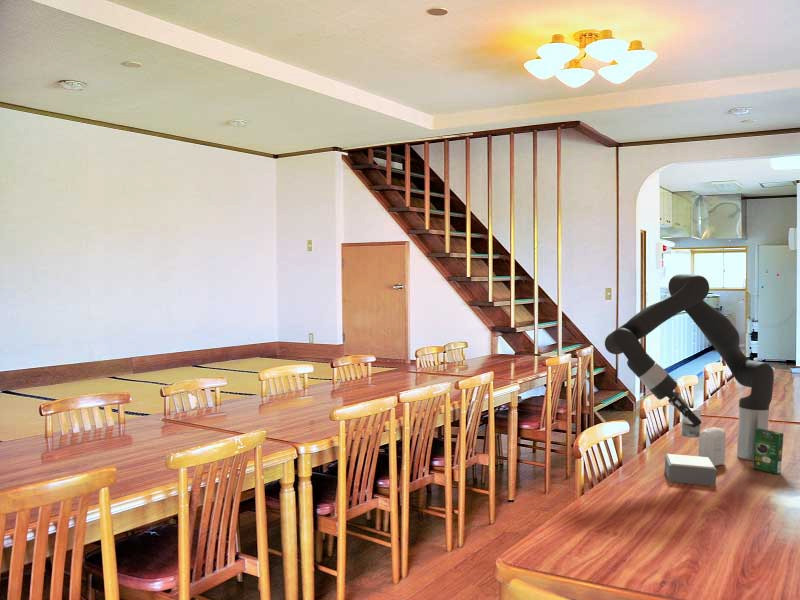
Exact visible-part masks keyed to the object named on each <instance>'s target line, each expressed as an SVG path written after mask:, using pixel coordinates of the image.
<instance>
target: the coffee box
mask: <svg viewBox="0 0 800 600" xmlns="http://www.w3.org/2000/svg"><path fill="white" fill-rule="evenodd" d="M783 445H784V433H783V432H779V431H777V432H776V431H773V430H769V429H768V430H765V429H761V428H758V429H756V432H755V447H754V460H753V466H752V468H753V469H755V470H758V471H763V472H766V473H769V474H773V473H774V475H780V474H781V473H782V458H783V447H784V446H783ZM779 473H780V474H779Z"/></svg>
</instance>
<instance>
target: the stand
mask: <svg viewBox="0 0 800 600" xmlns="http://www.w3.org/2000/svg"><path fill="white" fill-rule="evenodd" d="M664 456H665V457H664V472H666V473H665V475H667V476H666V479H667V480H668V483H675V482H676V483H675V484H685V483H687V485H696V484H697V486H706V485H711V486H710V487H717V486H716V485H717V468H716V466H714V465H713V463H712V462H711V460H710V459H709V458H708V457H699V455H698V456H697V455H688V454H687V455H685V454H674V453H666V454H665V455H664Z"/></svg>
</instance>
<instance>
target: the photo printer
mask: <svg viewBox="0 0 800 600" xmlns="http://www.w3.org/2000/svg"><path fill="white" fill-rule="evenodd" d="M698 438H699V439H698V440H699V441H698V456H699V457H708V458H709V459H710V460H711V462H712V463H713V465H714V466H715V467H716V466H717V467H718V466H720V465H724V464H725V462H726V460H725V459H726V458H725V457H726V456H725V455H726V438H727V437H726V432H725V431H724V429H723V428H720V427H716V426H712V427H707V428H706V429H703V430H702V431H700V436H699V437H698Z"/></svg>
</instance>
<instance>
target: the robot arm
mask: <svg viewBox="0 0 800 600" xmlns="http://www.w3.org/2000/svg"><path fill="white" fill-rule="evenodd" d="M709 283H710V282H709V281H708V279H706V277H704V276H702V275H699V274H688V273H681V274H679V273H678V274H675V275H673V276H672V277H671V278H670V280H669V282H668V285H667V286H668V293H669V294H670V296H669V297H666V298H665V299H663V300H660V301H658V302H655V303H653V304H650V305H649V306H647V307H645V308H643V309H642V310H640V311H638V312H637V313H636V314H635V315H634V316H632V317H631V318H630V319H629V320H628V321H626V323H624V324H622V325H621V326H619V327H618V328H617V329H615V330H613V331H612V332H611V333H609V334H608V335H607V336H606V337H605V340H604V347H605V350H606V351H608V353H609V354H612V355H620V354H623V355H625V357H626V359H627V362H626V364H627V366H628V368H629V369H630V370H631V372H632V373H634V375H635V376H636V377H637V378H638V379H639V380H640V381H641V383H642V384H643V385H644V386H645V387H646V388H647V390H649V392H650V393H652V394H653V396H654V397H655V398H656V399H657V400H660V401H661V400H663V399H665V398H668V399H667V402H668V403H669V404H670V405H671V406H672V407H674V408H675V409H676V410H677V411H678V413H681V414H682V416H683V415H684V416H685V417H687V418H688V419H689V420H690V421H691V422H692V423H693V424H694V425H695V426H698V425H700V426H701V424H702V421H701V418H700V419H699V418H698V417H697V416H696V415H695V414H694V413H693V411H692V410H690V409H689V408H691V407H690V406H689V404H688V403H687V401H686V400H685V399H684V398H683V396H682V394H680V393H679V392H675V391H674V390H676V388H677V387H678V383H677V381H676V380H675V379H674V378H673V377H672V376H671V375H670V374H669V373H668V372H667V371H666V370H665V369H664V368H663V367H662V366H661V365H660V364H658V363H657V362H656V360H654V359H653V358H652V357H651V355H649V354H648V353H647V352H646V350H645V348H644V346H643V345H642V343H641V342H640V339H642V338H645V337H646V336H648V335H649V334H650V333H651V332H653V331H654V330H655V329H657V328H658V327H660V325H662V324H663V323H665V322H667V321H668V320H669V319H671V318H673V317H675V316H676V315H678V314H680V313H681V312H683V311H684V312H685V313H686V314H687V315H688V316H689V317H690V318H691V319H692V321H693V322H694V323H695V325H696V326H697V327H698V329H699V330H700V331H701V332H702V334H703V335H704V337H705V338H706V339H707V341H708V342H709V343H710V344H711V346H712V347H713V348H714V349H715V351H716V352H717V353H718V354H719V356H720V357H721V359H722V360H723V361H724V362H725V365H726V366H727V367H728V368H729V371H730V373H731V374H732V376H733V378H734V379H735V381H736V382H737V383H738V384H739V385H741V386H743V387H746V388H751V389H750V394H749V395H747V396H744V397H741V398H739V400H738V422H737V423H738V424H737V448H736V449H737V451H736V456H737V458H740V459H742V460H749V461H754V447H755V432H756V429H758V428H761V429H765V430H769V420H770V417H769V416H770V414H769V413H770V404H771V402H772V399H773V392H774V391H773V390H774V383H775V382H774V380H775V374H774V369H773V367H772V365H770V363H767V362H763V361H757V360H751V359H749V358H748V357H747V356H746V355H745V353H743V351H742V350H741V349H740V339H741V338H740V334H739V331H738V330H737V328H736V327H735V325H734V324H733V323H732V322H731V320H730V319H729V318H728V317H727V316H726V315H725V314H723V313H722V312H721V311H720V310H718V309H716V308H715V307H713V306H712V305H710V304H709V303H707V302H706V301H705V299H706V297H707V296H708V294H709V293H710V292H709V291H710V284H709ZM686 408H687V409H688V411H686V412H685V413H684V412H683V410H684V409H686Z"/></svg>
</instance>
